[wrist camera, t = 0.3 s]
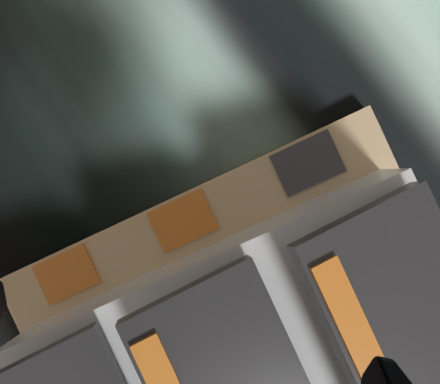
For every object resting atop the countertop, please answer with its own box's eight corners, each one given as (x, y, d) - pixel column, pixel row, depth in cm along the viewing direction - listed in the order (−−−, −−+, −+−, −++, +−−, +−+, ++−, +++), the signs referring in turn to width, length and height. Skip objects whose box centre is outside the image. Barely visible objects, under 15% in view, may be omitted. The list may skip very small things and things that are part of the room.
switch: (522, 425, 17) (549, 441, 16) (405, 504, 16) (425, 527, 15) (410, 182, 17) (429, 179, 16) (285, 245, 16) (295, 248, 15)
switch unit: (491, 383, 22) (578, 460, 16) (122, 523, 25) (81, 634, 19) (364, 108, 22) (406, 84, 16) (5, 276, 25) (-74, 309, 19)
